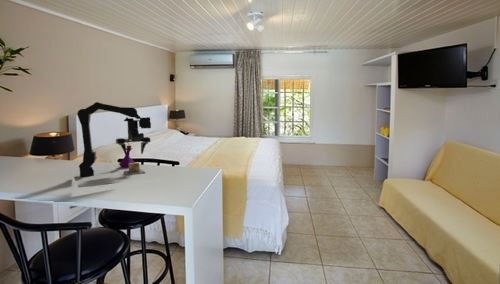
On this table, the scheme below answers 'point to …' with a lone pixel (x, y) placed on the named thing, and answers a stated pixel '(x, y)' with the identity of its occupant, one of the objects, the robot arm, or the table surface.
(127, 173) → the slate coaster
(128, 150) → the perfume bottle
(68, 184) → the table surface
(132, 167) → the walnut cube
